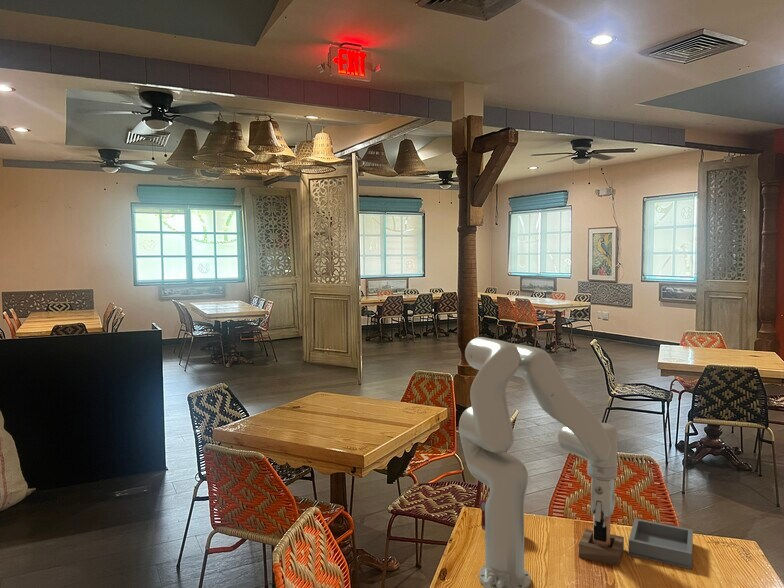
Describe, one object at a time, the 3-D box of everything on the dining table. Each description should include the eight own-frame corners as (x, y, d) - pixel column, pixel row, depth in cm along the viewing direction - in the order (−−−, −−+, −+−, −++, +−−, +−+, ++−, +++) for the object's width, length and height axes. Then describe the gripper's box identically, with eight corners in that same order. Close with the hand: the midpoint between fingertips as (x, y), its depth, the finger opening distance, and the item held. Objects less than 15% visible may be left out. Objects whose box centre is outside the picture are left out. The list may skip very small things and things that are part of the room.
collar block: (618, 566, 143) (618, 553, 142) (578, 556, 147) (578, 544, 147) (623, 549, 151) (623, 536, 151) (585, 540, 156) (585, 528, 156)
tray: (691, 569, 141) (692, 553, 141) (628, 554, 148) (628, 540, 148) (692, 543, 154) (693, 529, 154) (634, 531, 161) (634, 518, 161)
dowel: (608, 558, 146) (609, 518, 146) (591, 554, 148) (591, 514, 148) (611, 551, 150) (611, 511, 150) (594, 547, 152) (594, 508, 152)
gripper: (612, 483, 139) (612, 553, 140) (620, 462, 154) (620, 526, 155) (581, 477, 143) (581, 546, 144) (592, 458, 157) (592, 520, 158)
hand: (601, 535), depth 149 cm, fingers closed on dowel, 4 cm apart
